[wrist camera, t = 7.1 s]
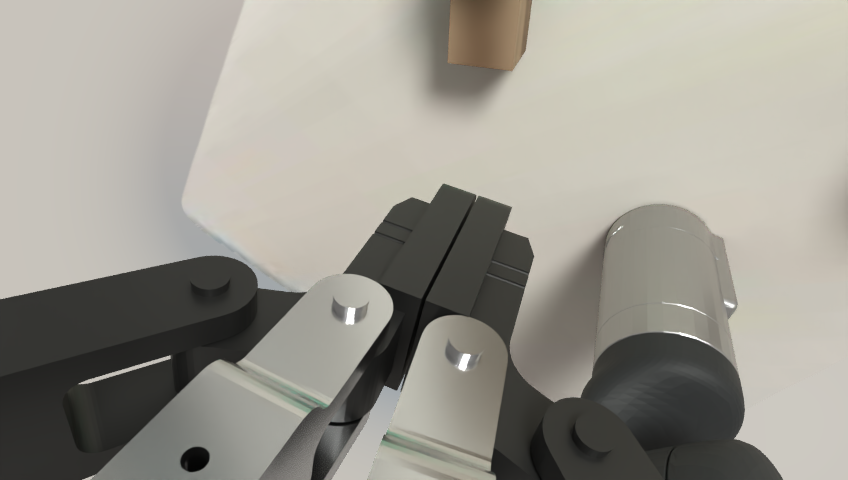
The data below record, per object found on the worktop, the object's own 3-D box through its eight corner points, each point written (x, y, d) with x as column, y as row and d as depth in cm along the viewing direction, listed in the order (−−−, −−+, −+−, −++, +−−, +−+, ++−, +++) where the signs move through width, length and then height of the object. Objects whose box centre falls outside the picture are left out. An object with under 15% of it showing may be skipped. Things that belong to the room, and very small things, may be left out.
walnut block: (534, -16, 42) (520, -2, 38) (525, 50, 45) (512, 70, 41) (471, -21, 44) (450, -8, 39) (467, 43, 46) (447, 63, 42)
